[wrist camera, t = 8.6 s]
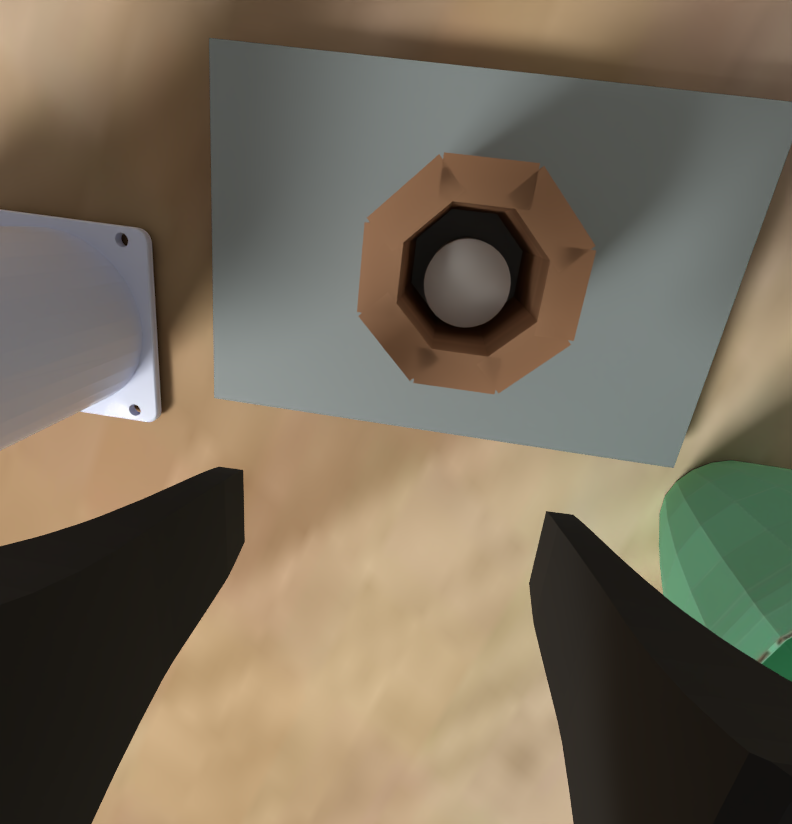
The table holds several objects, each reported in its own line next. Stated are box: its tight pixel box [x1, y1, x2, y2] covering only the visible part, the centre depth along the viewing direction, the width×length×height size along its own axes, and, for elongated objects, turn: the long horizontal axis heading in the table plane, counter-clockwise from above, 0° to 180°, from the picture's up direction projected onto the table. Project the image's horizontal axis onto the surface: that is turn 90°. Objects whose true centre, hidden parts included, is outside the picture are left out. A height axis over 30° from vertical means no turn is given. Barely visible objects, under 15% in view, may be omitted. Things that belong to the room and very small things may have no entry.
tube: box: [357, 152, 596, 394], centre depth 15 cm, size 6×6×5 cm
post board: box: [209, 38, 792, 468], centre depth 16 cm, size 18×12×5 cm, turn 83°
